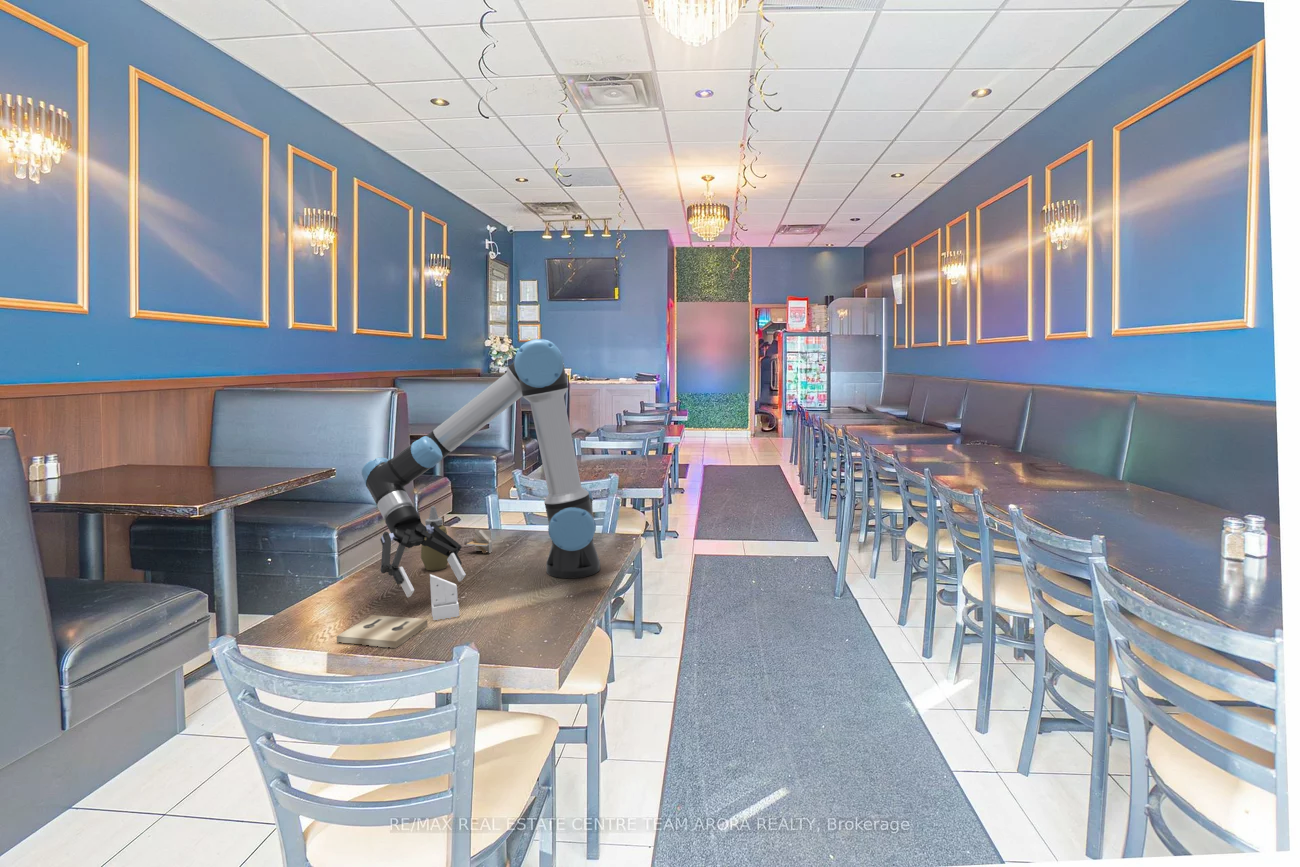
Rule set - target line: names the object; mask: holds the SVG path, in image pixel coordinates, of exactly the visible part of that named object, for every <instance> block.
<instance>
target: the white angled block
mask: <svg viewBox="0 0 1300 867" xmlns="http://www.w3.org/2000/svg"><path fill="white" fill-rule="evenodd" d="M429 586H430V587H429V589H430V604H431V605H430V606H431V618H432V617H433V618H432V620H437V621H439V620H438V619H443V620H446V619H445V618H449V619H452V618H451V617H456V618H458V617H457V616H459V617H460V604H459V602H458V599H459V598H458V586H457V584H456V583H454V582H452V581H450V580H446V579H444V578H442V577H439V576H437V575H434V574H431V573H429Z"/></svg>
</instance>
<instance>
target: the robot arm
mask: <svg viewBox="0 0 1300 867" xmlns="http://www.w3.org/2000/svg"><path fill="white" fill-rule="evenodd" d="M564 363H565V362H564V357H563V353H562V352H561V350H560V348H559V347H558V346H557V344H555V343H554V342H552V341H550V340H547V339H545V338H534V339H531V340H528V341H526V342H524V343H523V344H522V345H521V346H520V347H519V348H518V350H517V351H516V354H515V356H514V361H513V362H512V363H511V364H509V365H508V366H507V367H506V373H504V374H503V375H501V376H500V377H499V378H498V379H496V380H495V381H494V382H493V383H491V384H490V385H489V386H488V387H486V388H485V389H484V390H483V391H481V392H480V393H478V395H476V396H475V397H473V398H472V399H471V400H470V401H469V402H467V403H466V404H465V405H463V406H462V407H461V408H460V409H459V410H457V411H456V412H455V413H453V414H452V415H450V417H448V418H446V420H444V421H443V422H442V423H440V424H439V425H438V426H437V427H435V428H434V429H433V430H431V431H430V432H429V433H427V435H425V436H422V437H420V438H419V439H417V440H415V441H414V442H412V443H411V444H410V445H408V446H407V447H405V448H404V449H403V450H402V451H400V452H399V453H397V454H396V455H395V456H394V457H392V458H390V459H388V458H387V457H376V458H375V459H372V460H369V461H368V462H367V463H365V464H364V465H363V466H362V468H361V476H362V479H363V481H364V483H365V487H366V489H367V490H368V492H369V494H370V495H371V497H372V499H373V501H374V502H375V504H376V507H377V508H378V510H379V512H380V514H381V516H382V519H383V520H384V522H385V524H386V527H387V528H388V530H389V532H388V531H384V532H383V533H382V535H381V537H380V539H379V540H380V543H381V546H382V548H381V549H382V550H381V563H380V573H381V574H386V573H387V574H388V575H389V576H392V578H393V579H394V581H395V584H396V585H400V586H401V587H402V590H403V592H404V594H405V596H406V598H410V597H411V596H412V595H413V593H414V591H415V588H414V586H413V584H412V582H411V581H410V579H409V576H408V575H407V573H406V570H405V569H404V567H403V566H400V563H401V559H402V557H403V554H404V552H405V549H406V548H408V549H410V548H413V547H419V546H421V545H423V546H428V547H430V548H432V549H434V550H436V551H438V552H440V553H442V554H444V555H446V556H447V557H448V559H447V561H448V564H449V567H450V568H451V570H452V572H453V574H454V576H455V577H456V579H457V581H458V582H462V581H463V579H464V578H465V577H466V575H467V574H466V572H465V571H464V569H463V567H462V565H463V562H462V560H461V558H460V556H459V552H460V551H461V549H462V545H461V544H460V543H459V542H457V541H456V540H455V539H454V538H452V537H451V536H450V535H448V533H447V534H446V533H445V532H443V531H442V530H441V529H440V528H439V527H438V526H437V524H436V523H435V522H431V524H430V525H427V526H426V525H425V524H424V523H423V522H422V520H421V517H420V515H419V513H418V511H417V509H416V507H415V506H414V503H413V501H412V500H411V498H410V496H409V495H408V492H407V490H406V489H405V487H406V486H407V485H409V484H410V483H412V482H413V481H414V480H415V479H418V478H419V477H420V476H422V475H423V474H425V472H427V471H428V470H430V469H432V468H434V467H435V466H436V465H437V464H439V463H440V462H441V461H442V460H443V459H445V458H446V457H447V456H448V455H449V454H451V452H454V451H455V450H456V449H457V448H458V447H459V446H461V445H462V444H463V443H464V442H466V441H467V440H468V439H470V438H471V437H472V436H474V435H475V434H476V433H477V432H479V431H480V430H481V429H483V428H484V427H485V426H487V424H489V423H490V422H491V421H493V420H494V419H495V418H497V417H498V416H499V415H501V413H502V412H504V411H506V409H509V407H510V406H512V405H513V404H514V403H515V402H517V401H518V400H519V399H520V398H523V399H525V400H526V401H528V402H529V404H530V409H531V413H532V419H533V423H534V428H535V433H536V438H537V443H538V447H539V453H540V458H541V462H542V467H543V472H544V478H545V482H546V486H547V491H548V493H547V496H545V499H544V500H543V501H544V506H545V507H544V508H545V512H546V518H547V521H548V523H547V524H548V528H547V529H548V530H547V531H548V532H547V533H548V536H549V538H550V540H551V547H550V549H549V553H548V556H547V559H546V563H545V569H546V570H545V571H546V574H547V575H549V576H551V577H554V578H560V579H577V578H578V579H579V578H584V577H589V576H593V575H595V574H597V573H598V572H600V571H601V561H600V560H601V559H600V557H599V555H598V552H597V549H596V546H595V544H594V537H595V533H596V530H597V529H596V528H597V525H596V520H595V518H594V512H593V511H594V510H593V501H594V498H593V493H592V491H591V490H590V489H585V488H583V486H582V484H581V478H580V473H579V472H580V471H579V467H578V461H577V457H576V452H575V447H574V442H573V437H572V432H571V427H570V421H569V417H568V412H567V407H566V402H565V401H566V400H565V394H566V393H567V391H568V390H569V387H568V386H569V385H568V380H567V375H566V371H565V365H564ZM426 531H427V532H426ZM425 537H426V538H427V540H424V539H425ZM393 540H394V541H395V542H396V543H398V546H397V548H396V552H395V555H394V557H393V560H392V563H391V551H392V550H391V549H392V541H393ZM449 551H450V552H449Z"/></svg>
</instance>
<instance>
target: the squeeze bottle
mask: <svg viewBox="0 0 1300 867" xmlns="http://www.w3.org/2000/svg"><path fill="white" fill-rule="evenodd" d="M436 508H437V507H436V506H431V507H430V511H429V517H428V518H426V519H425V520H424V521H425V524H424V526H427V525H430V524H431V522H435V523H436V524H437V526H438V527H439V528H440V529H441V530H442V531H443V532H445V533H446V534H447V535H448V533H447V532H448V531H447V527H446V526H445V525H443V518H442V517H439V516H438V512H437V509H436ZM426 532H427V531H426ZM424 540H427V538H426V537H425V539H424ZM420 546H421V547H420V548H421V550H420V559H421V561H422V563H423V565H424V566H423V567H424V568H425V569H424V570H427V571H439V570H443V569H446V568H447V566H448V564H449V563H448V561H447V559H448V557H447V556H446V555H444V554H442V553H440V552H438V551H436V550H434V549H432V548H430V547H428V546H423V545H422V544H420ZM449 552H450V551H449Z"/></svg>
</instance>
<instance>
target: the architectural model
mask: <svg viewBox="0 0 1300 867" xmlns="http://www.w3.org/2000/svg"><path fill="white" fill-rule="evenodd" d="M466 546H472V547H473V546H475V552H476V551H482V552H481V553H483V554H484V553H485V552H486V551H488V552H486V553H488V554H489V553H491V552H492V553H493V542H492V530H491V529H490V530H487V529H485V530H484V529H474V537H473V541H472V540H471V541H470V542H469V541H468V542H467V543H466ZM486 553H485V554H486ZM492 553H491V554H492Z"/></svg>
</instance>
